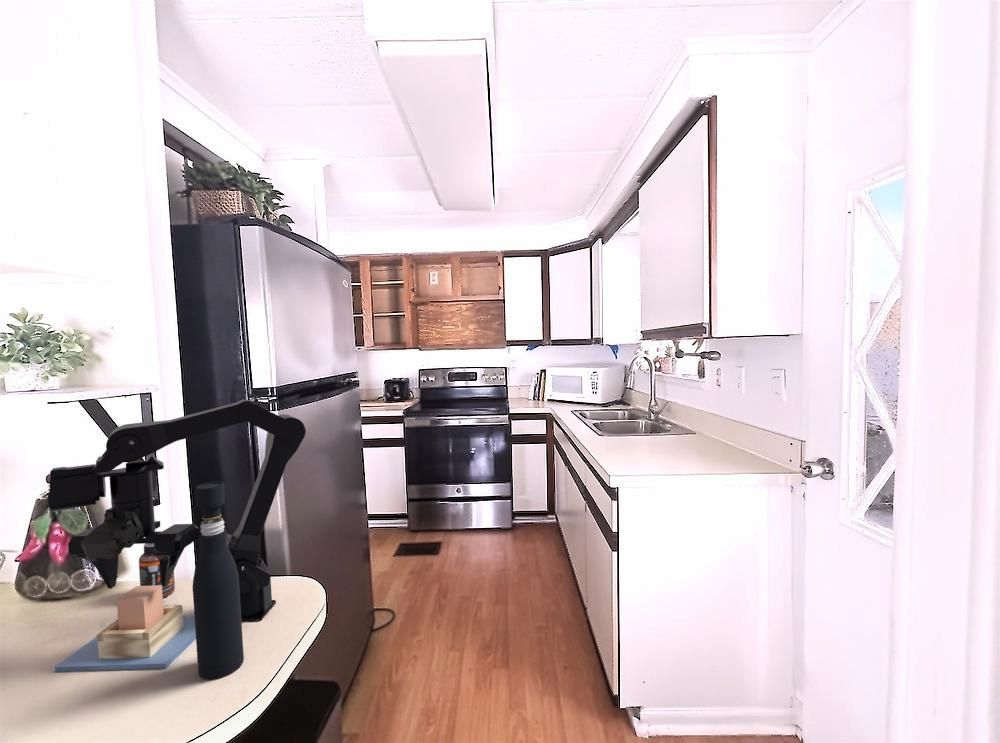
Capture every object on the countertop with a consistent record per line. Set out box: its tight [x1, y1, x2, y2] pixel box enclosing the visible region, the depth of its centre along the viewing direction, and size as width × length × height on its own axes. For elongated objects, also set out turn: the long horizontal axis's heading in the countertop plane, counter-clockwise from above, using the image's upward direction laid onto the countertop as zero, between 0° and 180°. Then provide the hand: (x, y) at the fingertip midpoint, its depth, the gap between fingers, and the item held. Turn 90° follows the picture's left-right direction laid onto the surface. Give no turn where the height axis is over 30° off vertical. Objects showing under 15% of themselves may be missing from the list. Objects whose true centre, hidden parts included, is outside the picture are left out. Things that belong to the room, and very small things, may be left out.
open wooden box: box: [96, 604, 184, 659], centre depth 84 cm, size 8×8×5 cm
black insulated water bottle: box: [191, 481, 245, 681], centre depth 77 cm, size 6×6×30 cm
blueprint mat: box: [54, 615, 196, 673], centre depth 85 cm, size 18×14×1 cm
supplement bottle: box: [138, 543, 176, 599], centre depth 102 cm, size 6×6×11 cm
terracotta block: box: [116, 585, 164, 630], centre depth 84 cm, size 4×4×6 cm
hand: (138, 586), depth 84 cm, fingers open, 9 cm apart
